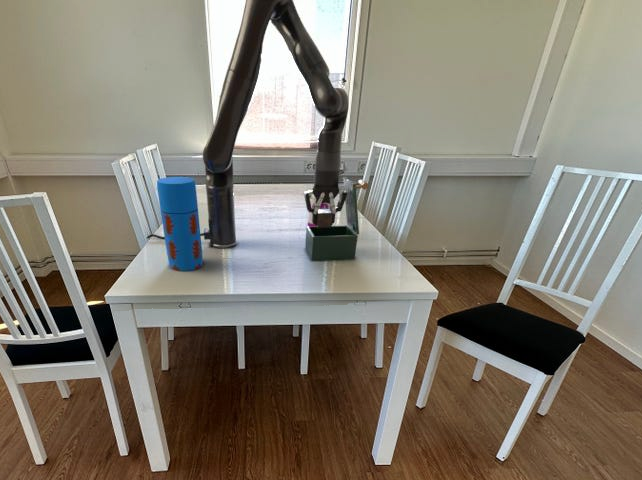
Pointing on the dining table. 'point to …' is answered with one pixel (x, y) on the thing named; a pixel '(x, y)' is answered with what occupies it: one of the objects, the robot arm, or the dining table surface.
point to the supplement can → (322, 206)
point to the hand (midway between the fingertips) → (322, 224)
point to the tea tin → (331, 243)
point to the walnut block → (324, 218)
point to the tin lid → (352, 202)
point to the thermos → (180, 222)
